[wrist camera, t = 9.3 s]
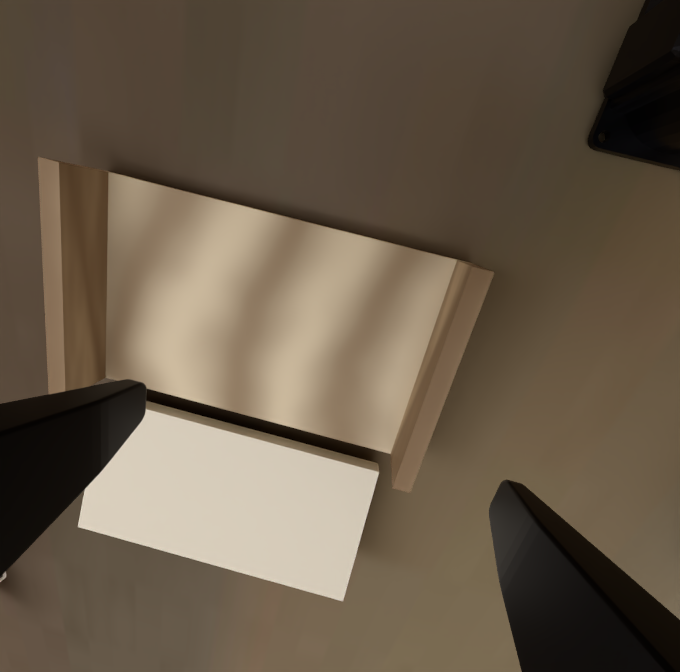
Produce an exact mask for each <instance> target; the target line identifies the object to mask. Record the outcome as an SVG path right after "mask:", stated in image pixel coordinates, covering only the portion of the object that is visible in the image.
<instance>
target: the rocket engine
mask: <svg viewBox="0 0 680 672" xmlns="http://www.w3.org/2000/svg"><path fill="white" fill-rule="evenodd" d="M6 576H7V575H6V572H5V573H4V574H3V576H2V577H1V578H0V582H1V581H2V580H4V579H5V578H6Z"/></svg>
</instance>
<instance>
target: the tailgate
mask: <svg viewBox="0 0 680 672" xmlns="http://www.w3.org/2000/svg"><path fill="white" fill-rule="evenodd" d="M378 475H379V467H378V463H375V462H371V461H368V460H364V459H360V458H357V457H353V456H349V455H345V454H342V453H338V452H334V451H331V450H327V449H323V448H320V447H316V446H312V445H308V444H305V443H301V442H297V441H294V440H290V439H286V438H282V437H279V436H275V435H271V434H268V433H264V432H260V431H257V430H253V429H249V428H245V427H242V426H238V425H234V424H231V423H227V422H223V421H219V420H216V419H212V418H208V417H205V416H201V415H197V414H193V413H190V412H186V411H182V410H179V409H175V408H171V407H168V406H164V405H160V404H156V403H153V402H149V401H146V412H145V416H144V418H143V420H142V421H141V423H140V424H139V425H138V427H137V428H136V429H135V430H134V432H133V433H132V434H131V435H130V437H129V438H128V439H127V440H126V442H125V443H124V444H123V445H122V447H121V448H120V449H119V450H118V452H117V453H116V454H115V456H114V457H113V458H112V459H111V461H110V462H109V463H108V464H107V465H106V467H105V468H104V469H103V470H102V471H101V472H100V474H99V475H98V476H97V477H96V478H95V479H94V480H93V481H92V482H91V483H90V484H89V485H88V486H87V487H86V488H85V492H84V497H83V502H82V508H81V513H80V518H79V523H78V527H80V528H84V529H87V530H91V531H94V532H98V533H102V534H105V535H109V536H112V537H116V538H119V539H123V540H126V541H130V542H134V543H137V544H141V545H144V546H148V547H151V548H155V549H158V550H162V551H166V552H169V553H173V554H176V555H180V556H183V557H187V558H190V559H194V560H198V561H201V562H205V563H208V564H212V565H215V566H219V567H222V568H226V569H230V570H233V571H237V572H240V573H244V574H247V575H251V576H254V577H258V578H262V579H265V580H269V581H272V582H276V583H279V584H283V585H287V586H290V587H294V588H297V589H301V590H304V591H308V592H311V593H315V594H319V595H322V596H326V597H329V598H333V599H336V600H340V601H343V599H344V596H345V592H346V588H347V585H348V581H349V578H350V574H351V571H352V567H353V564H354V560H355V556H356V553H357V549H358V546H359V542H360V539H361V535H362V532H363V528H364V524H365V521H366V517H367V514H368V510H369V507H370V503H371V500H372V496H373V493H374V489H375V485H376V482H377V478H378Z"/></svg>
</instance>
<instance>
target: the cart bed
mask: <svg viewBox="0 0 680 672" xmlns="http://www.w3.org/2000/svg"><path fill="white" fill-rule="evenodd" d="M38 172H39V194H40V215H41V237H42V259H43V280H44V302H45V324H46V345H47V367H48V388H49V394H53V393H58V392H64V391H69V390H74V389H79V388H84V387H89V386H91V385H93V384H94V383H96V382H98V381H100V380H102V379H103V378H105V377H106V378H110V379H113V380H117V381H120V380H125V379H132V380H135V381H139V382H143V383H144V384H145V385H146V388H147V389H151V390H154V391H158V392H162V393H165V394H169V395H173V396H177V397H180V398H184V399H188V400H192V401H195V402H199V403H203V404H206V405H210V406H214V407H218V408H221V409H225V410H229V411H232V412H236V413H240V414H244V415H247V416H251V417H255V418H259V419H262V420H266V421H270V422H273V423H277V424H281V425H285V426H288V427H292V428H296V429H299V430H303V431H307V432H311V433H314V434H318V435H322V436H325V437H329V438H333V439H337V440H340V441H344V442H348V443H352V444H355V445H359V446H363V447H366V448H370V449H374V450H378V451H381V452H385V453H389V454H391V472H392V488H393V489H397V490H401V491H404V492H408V493H410V492H411V489H412V487H413V484H414V481H415V479H416V476H417V474H418V471H419V468H420V466H421V463H422V461H423V458H424V455H425V453H426V450H427V448H428V445H429V442H430V440H431V437H432V434H433V432H434V429H435V427H436V424H437V421H438V419H439V416H440V414H441V411H442V408H443V406H444V403H445V401H446V398H447V395H448V393H449V390H450V388H451V385H452V382H453V380H454V377H455V374H456V372H457V369H458V367H459V364H460V361H461V359H462V356H463V354H464V351H465V348H466V346H467V343H468V341H469V338H470V335H471V333H472V330H473V327H474V325H475V322H476V320H477V317H478V314H479V312H480V309H481V307H482V304H483V301H484V299H485V296H486V294H487V291H488V288H489V286H490V283H491V281H492V278H493V275H494V273H495V272H493V271H490V270H488V269H485V268H483V267H480V266H477V265H475V264H472V263H470V262H466V261H462V260H458V259H454V258H450V257H446V256H442V255H438V254H434V253H430V252H426V251H422V250H418V249H414V248H410V247H406V246H402V245H398V244H394V243H390V242H386V241H382V240H378V239H375V238H371V237H367V236H363V235H359V234H355V233H351V232H347V231H343V230H339V229H335V228H331V227H327V226H323V225H319V224H315V223H311V222H307V221H303V220H299V219H295V218H291V217H287V216H283V215H279V214H275V213H271V212H268V211H264V210H260V209H256V208H252V207H248V206H244V205H240V204H236V203H232V202H228V201H224V200H220V199H216V198H212V197H208V196H204V195H200V194H196V193H192V192H188V191H184V190H180V189H176V188H172V187H168V186H164V185H161V184H157V183H153V182H149V181H145V180H141V179H137V178H133V177H129V176H125V175H121V174H117V173H113V172H109V171H104V170H100V169H95V168H90V167H85V166H80V165H75V164H70V163H65V162H61V161H56V160H51V159H46V158H41V157H38Z"/></svg>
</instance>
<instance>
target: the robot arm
mask: <svg viewBox="0 0 680 672" xmlns="http://www.w3.org/2000/svg"><path fill="white" fill-rule="evenodd" d="M603 93H604V97H605V99H604V101H603V103H602V106H601V108H600V110H599V113H598V115H597V118H596V120H595V122H594V125H593V127H592V130H591V132H590V134H589V137H588V145H589V147H590V148H591V149H593V150H596V151H600V152H605V153H609V154H613V155H617V156H621V157H625V158H629V159H634V160H638V161H642V162H646V163H650V164H654V165H658V166H663V167H667V168H671V169H675V170H679V171H680V0H646V1H645V3H644V5H643V8H642V10H641V12H640V15H639V17H638V20H637V21H636V22H635V23H634V24H632V25H631V26H630V27H629V29H628V31H627V33H626V36H625V38H624V41H623V43H622V45H621V48H620V50H619V53H618V55H617V57H616V60H615V62H614V65H613V67H612V70H611V72H610V74H609V77H608V79H607V82H606V84H605V86H604V89H603ZM600 133H603V134H604V135H605V140H604V141H603V143H602V142H600V141H599V139H598V137H599V134H600ZM146 393H147V388H146V385H145V384H144V383H143V382H139V381H135V380H132V379H125V380H120V381H115V382H110V383H104V384H99V385H94V386H89V387H84V388H79V389H74V390H69V391H64V392H58V393H53V394H48V395H43V396H38V397H33V398H28V399H23V400H18V401H12V402H7V403H2V404H0V577H1V576H2V575H3V574H4V573H5V572H6V571H7V570H8V569H9V567H10V566H11V565H12V564H13V563H14V562H15V561H16V560H17V559H18V558H19V557H20V556H21V555H22V554H23V553H24V552H25V551H26V550H27V549H28V548H29V547H30V546H31V545H32V544H33V543H34V541H35V540H36V539H37V538H38V537H39V536H40V535H41V534H42V533H43V532H44V531H45V530H46V529H47V528H48V527H49V526H50V525H51V524H52V523H53V522H54V521H55V520H56V519H57V518H58V517H59V515H60V514H61V513H62V512H63V511H64V510H65V509H66V508H67V507H68V506H69V505H70V504H71V503H72V502H73V501H74V500H75V499H76V498H77V497H78V496H79V495H80V494H81V493H82V492H83V491H84V489H85V488H86V487H87V486H88V485H89V484H90V483H91V482H92V481H93V480H94V479H95V478H96V477H97V476H98V475H99V474H100V472H101V471H102V470H103V469H104V468H105V467H106V465H107V464H108V463H109V462H110V461H111V459H112V458H113V457H114V456H115V454H116V453H117V452H118V450H119V449H120V448H121V447H122V445H123V444H124V443H125V442H126V440H127V439H128V438H129V437H130V435H131V434H132V433H133V432H134V430H135V429H136V428H137V427H138V425H139V424H140V423H141V421H142V420H143V418H144V416H145V412H146ZM489 518H490V525H491V532H492V538H493V545H494V551H495V558H496V565H497V571H498V577H499V582H500V587H501V591H502V595H503V599H504V603H505V607H506V611H507V615H508V619H509V623H510V627H511V631H512V635H513V639H514V643H515V647H516V651H517V655H518V659H519V662H520V666H521V670H522V672H680V620H679V619H678V618H677V617H676V616H675V615H674V614H672V613H671V612H670V611H669V610H668V609H667V608H665V607H664V606H663V605H662V604H661V603H660V602H658V601H657V600H656V599H655V598H654V597H653V596H652V595H650V594H649V593H648V592H647V591H646V590H645V589H643V588H642V587H641V586H640V585H639V584H638V583H636V582H635V581H634V580H633V579H632V578H631V577H630V576H628V575H627V574H626V573H625V572H624V571H623V570H621V569H620V568H619V567H618V566H617V565H616V564H614V563H613V562H612V561H611V560H610V559H609V558H608V557H606V556H605V555H604V554H603V553H602V552H601V551H599V550H598V549H597V548H596V547H595V546H594V545H593V544H591V543H590V542H589V541H588V540H587V539H586V538H584V537H583V536H582V535H581V534H580V533H579V532H577V531H576V530H575V529H574V528H573V527H572V526H571V525H569V524H568V523H567V522H566V521H565V520H564V519H562V518H561V517H560V516H559V515H558V514H557V513H556V512H554V511H553V510H552V509H551V508H550V507H549V506H547V505H546V504H545V503H544V502H543V501H542V500H540V499H539V498H538V497H537V496H536V495H535V494H534V493H532V492H531V491H530V490H529V489H528V488H527V487H525V486H524V485H523V484H521V483H517V482H514V481H510V480H504V481H502V482H501V484H500V486H499V488H498V490H497V492H496V494H495V496H494V498H493V500H492V502H491V505H490V508H489Z"/></svg>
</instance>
